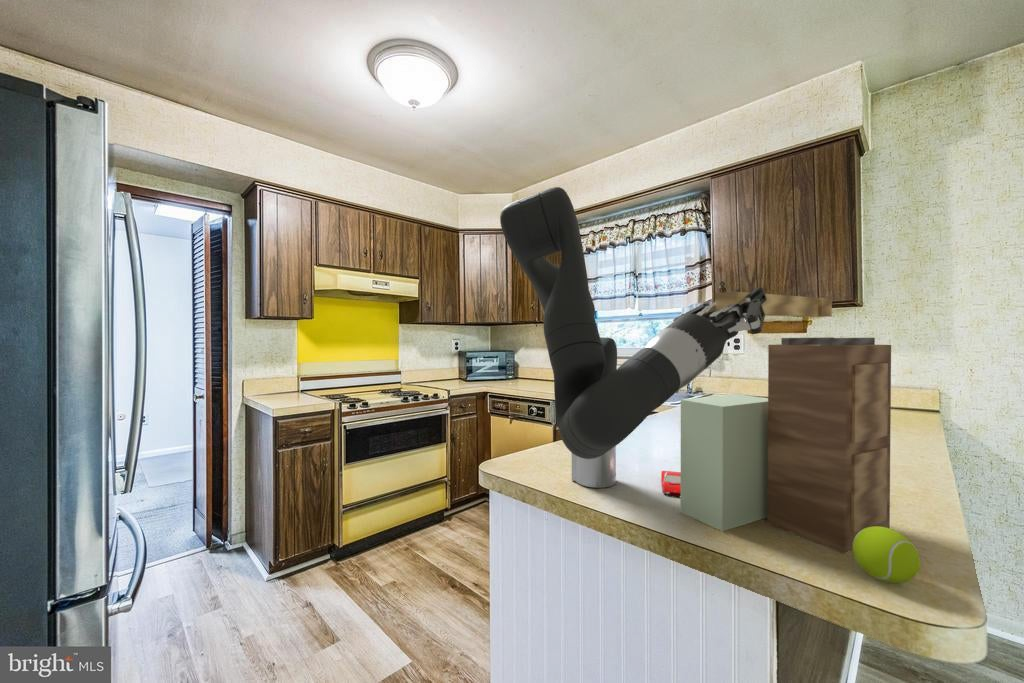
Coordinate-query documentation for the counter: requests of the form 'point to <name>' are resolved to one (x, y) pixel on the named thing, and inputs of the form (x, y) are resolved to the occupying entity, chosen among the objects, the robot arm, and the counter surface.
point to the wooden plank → (781, 304)
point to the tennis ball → (886, 554)
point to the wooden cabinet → (829, 438)
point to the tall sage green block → (724, 459)
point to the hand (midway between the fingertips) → (749, 294)
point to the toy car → (671, 483)
